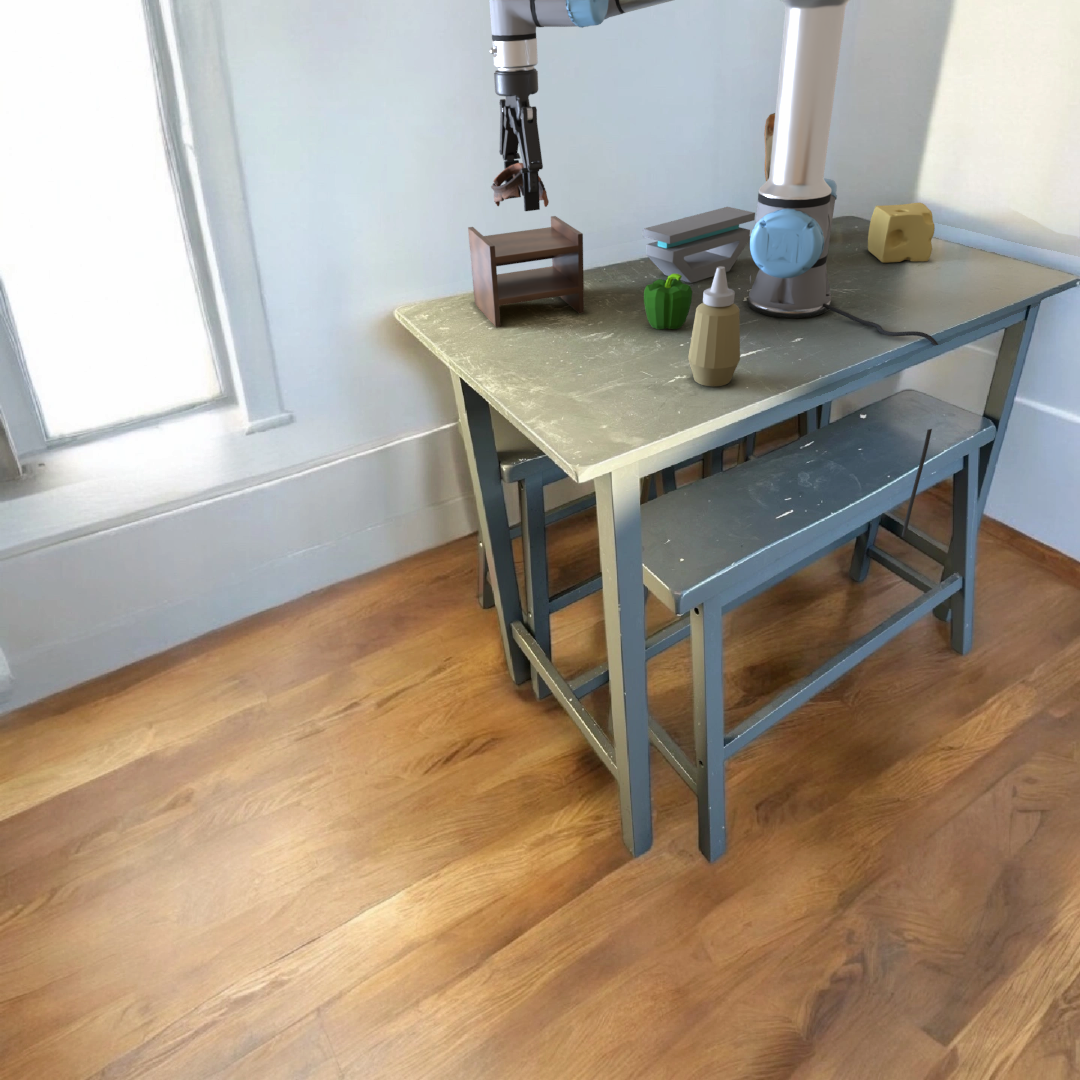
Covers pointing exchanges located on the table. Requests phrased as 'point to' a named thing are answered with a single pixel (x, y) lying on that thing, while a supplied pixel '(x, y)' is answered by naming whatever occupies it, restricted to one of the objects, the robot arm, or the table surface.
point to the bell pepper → (667, 302)
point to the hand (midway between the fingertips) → (522, 203)
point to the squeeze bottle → (715, 335)
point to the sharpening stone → (699, 243)
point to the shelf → (527, 284)
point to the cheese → (901, 232)
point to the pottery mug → (513, 185)
